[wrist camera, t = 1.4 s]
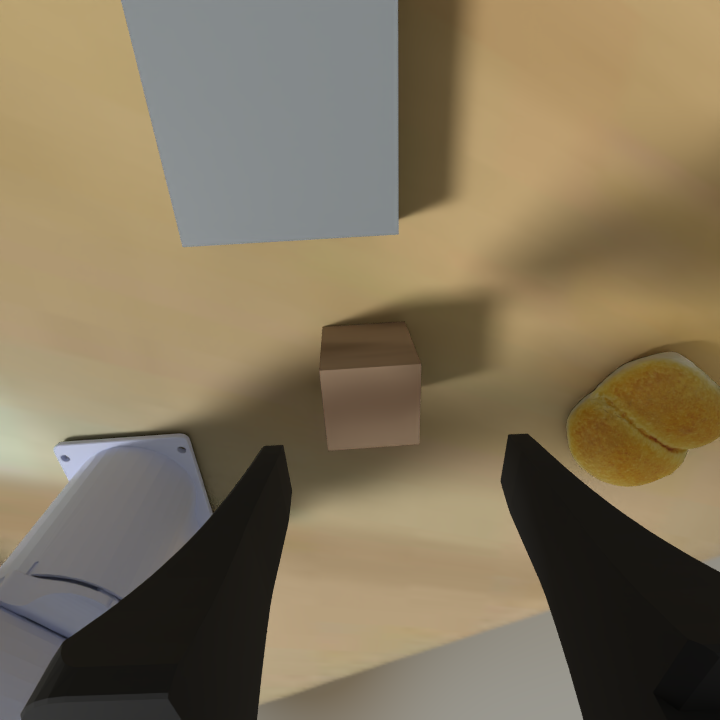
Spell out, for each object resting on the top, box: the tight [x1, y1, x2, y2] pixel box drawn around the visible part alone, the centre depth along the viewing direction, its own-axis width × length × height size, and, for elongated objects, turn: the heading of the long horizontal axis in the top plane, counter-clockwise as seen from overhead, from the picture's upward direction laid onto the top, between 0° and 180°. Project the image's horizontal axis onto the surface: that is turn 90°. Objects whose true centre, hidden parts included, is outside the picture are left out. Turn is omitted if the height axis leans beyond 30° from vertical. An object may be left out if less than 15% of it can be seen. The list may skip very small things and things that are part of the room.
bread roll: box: [566, 352, 720, 486], centre depth 24 cm, size 8×9×4 cm
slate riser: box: [121, 0, 399, 247], centre depth 16 cm, size 9×9×3 cm
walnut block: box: [319, 321, 421, 451], centre depth 21 cm, size 4×4×5 cm
